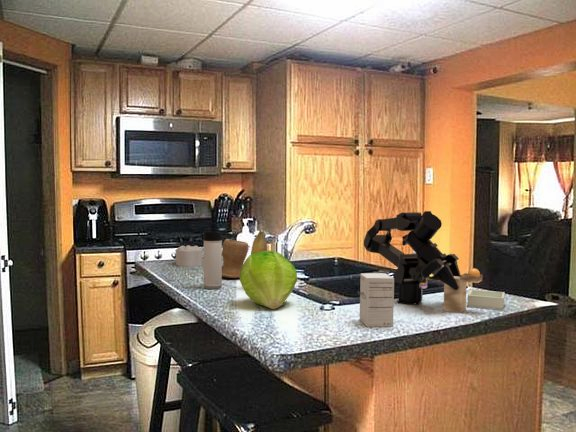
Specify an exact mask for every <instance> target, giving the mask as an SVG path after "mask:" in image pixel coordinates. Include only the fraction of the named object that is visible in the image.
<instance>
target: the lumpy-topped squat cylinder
mask: <svg viewBox="0 0 576 432" xmlns="http://www.w3.org/2000/svg"><path fill="white" fill-rule="evenodd" d="M175 265H176V266H178V267H182V268H193V267H201V266H203V249H202V248H199V246H198V245H193V246H192V245H189V244H188V245H186V246H185V245H181V246H179V247H177V248H176V249H175Z"/></svg>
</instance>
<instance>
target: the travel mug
mask: <svg viewBox="0 0 576 432" xmlns="http://www.w3.org/2000/svg"><path fill="white" fill-rule="evenodd" d="M222 235H223V233H222V232H215V231H214V232H212V231H204V232H203V289H205V290H219V289H222V288H223V287H222V286H223V285H222V284H223V283H222V282H223V279H222V278H223V277H222V266H223V263H222V262H223V254H222V249H223V239H222V238H223V237H222Z"/></svg>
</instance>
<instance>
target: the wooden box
mask: <svg viewBox="0 0 576 432" xmlns="http://www.w3.org/2000/svg"><path fill="white" fill-rule="evenodd" d="M454 278H455V280H456V282H457V285H458V287H459V289H458V290H454V289H453V288H451V287H450V286H448V285H447V284H446V283H444V282H443V311H445V312H452V313H458V314H459V313H461V314H462V313H463V312H464V311H466V310H467V283H474V284H479V283H481V282H483V274H480V277H479V278H478V277H475V276H468V272H465V273H463V274H460V277H458V276H454Z"/></svg>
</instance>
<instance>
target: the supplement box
mask: <svg viewBox="0 0 576 432" xmlns="http://www.w3.org/2000/svg"><path fill="white" fill-rule="evenodd" d="M359 282H360V283H359V286H360V287H359V290H360V291H359V320H360V321H361V322H362V323H363V324H364V325H365V327H367V328H369V327H371V328H375V327H376V328H377V327H380V328H382V327H394V309H395V306H394V305H395V281H394V276H391V275H389V274H387V273H385V272H382V273H380V272H375V273H372V272H371V273H368V272H367V273H365V272H364V273H360V281H359Z"/></svg>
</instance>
